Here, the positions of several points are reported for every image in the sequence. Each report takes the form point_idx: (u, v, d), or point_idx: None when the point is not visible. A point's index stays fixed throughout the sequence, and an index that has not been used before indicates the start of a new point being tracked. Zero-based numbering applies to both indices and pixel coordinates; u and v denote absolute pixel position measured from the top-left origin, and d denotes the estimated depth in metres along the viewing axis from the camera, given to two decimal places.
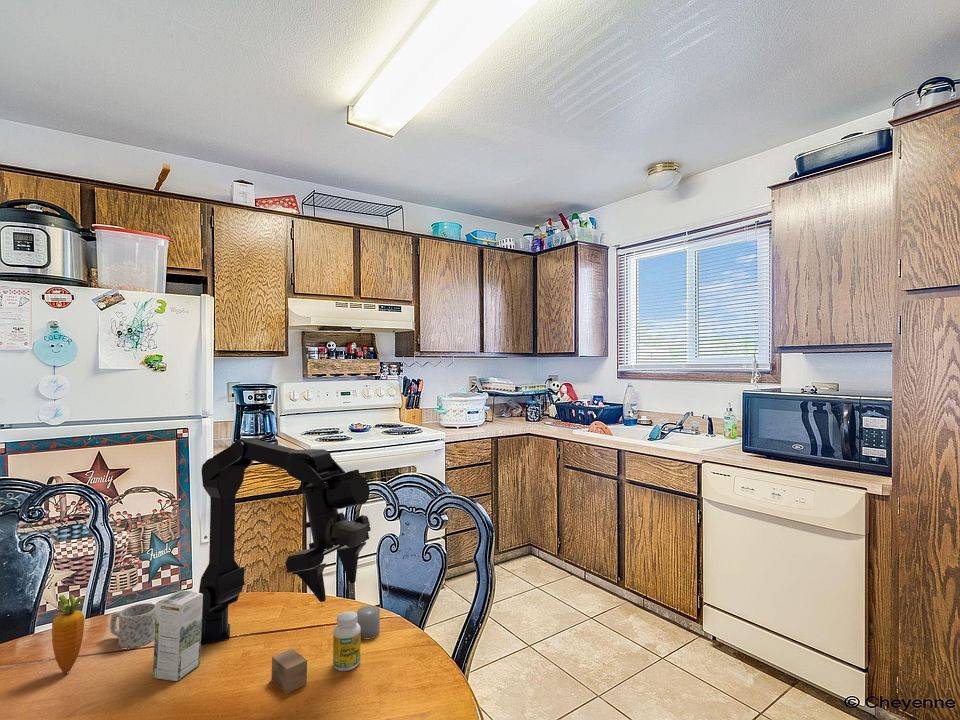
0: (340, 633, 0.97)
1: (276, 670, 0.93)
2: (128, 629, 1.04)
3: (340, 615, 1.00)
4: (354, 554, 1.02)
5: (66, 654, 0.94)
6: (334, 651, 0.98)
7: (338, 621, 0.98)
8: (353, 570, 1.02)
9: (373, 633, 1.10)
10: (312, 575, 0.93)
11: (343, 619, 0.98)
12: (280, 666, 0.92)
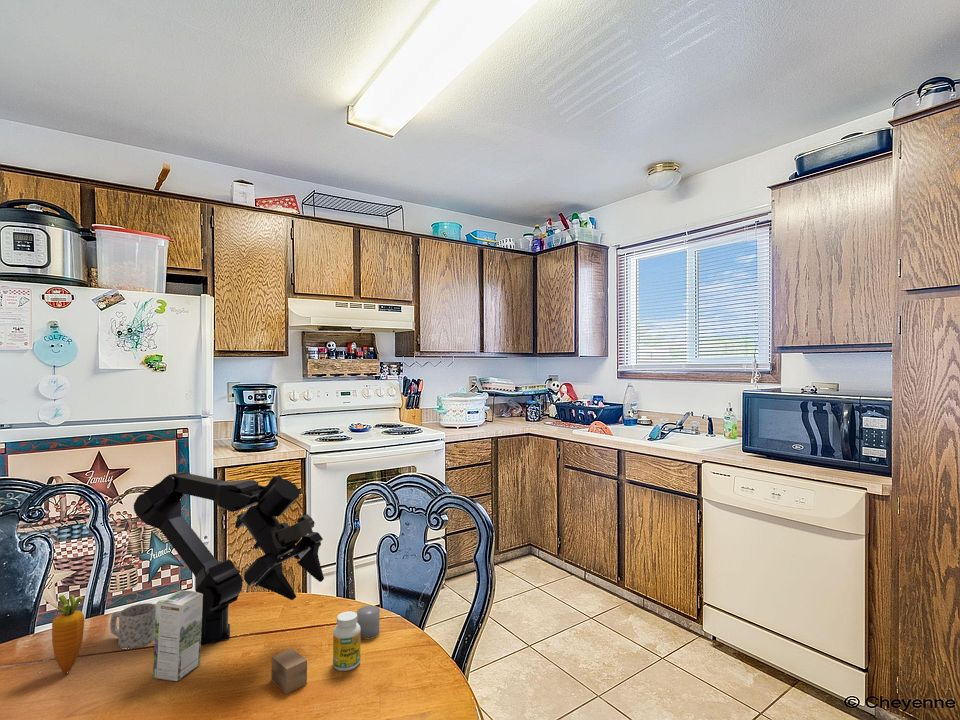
0: (340, 633, 0.97)
1: (276, 670, 0.93)
2: (128, 629, 1.04)
3: (340, 615, 1.00)
4: (312, 555, 1.09)
5: (66, 654, 0.94)
6: (334, 651, 0.98)
7: (338, 621, 0.98)
8: (317, 569, 1.08)
9: (373, 633, 1.10)
10: (274, 579, 0.99)
11: (343, 619, 0.98)
12: (280, 666, 0.92)
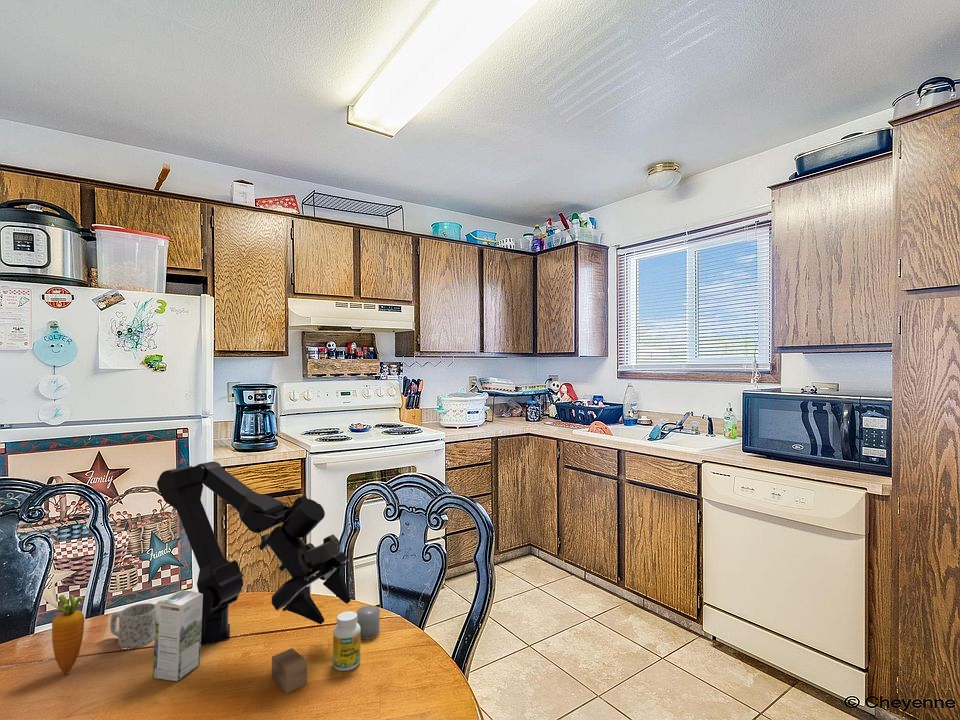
0: (340, 633, 0.97)
1: (276, 670, 0.93)
2: (128, 629, 1.04)
3: (340, 615, 1.00)
4: (338, 576, 1.06)
5: (66, 654, 0.94)
6: (334, 651, 0.98)
7: (338, 621, 0.98)
8: (344, 590, 1.05)
9: (373, 633, 1.10)
10: (302, 603, 0.96)
11: (343, 619, 0.98)
12: (280, 666, 0.92)
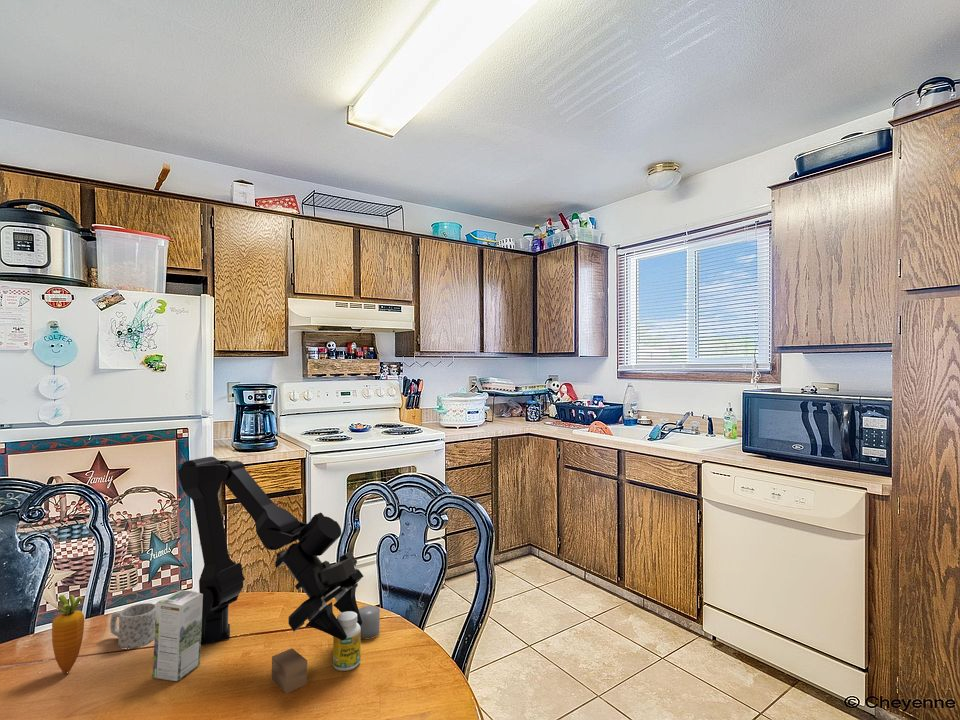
0: None
1: (276, 670, 0.93)
2: (128, 629, 1.04)
3: (340, 615, 1.00)
4: (350, 598, 1.03)
5: (66, 654, 0.94)
6: (334, 651, 0.98)
7: (338, 621, 0.98)
8: None
9: (373, 633, 1.10)
10: (325, 619, 0.97)
11: (343, 619, 0.98)
12: (280, 666, 0.92)
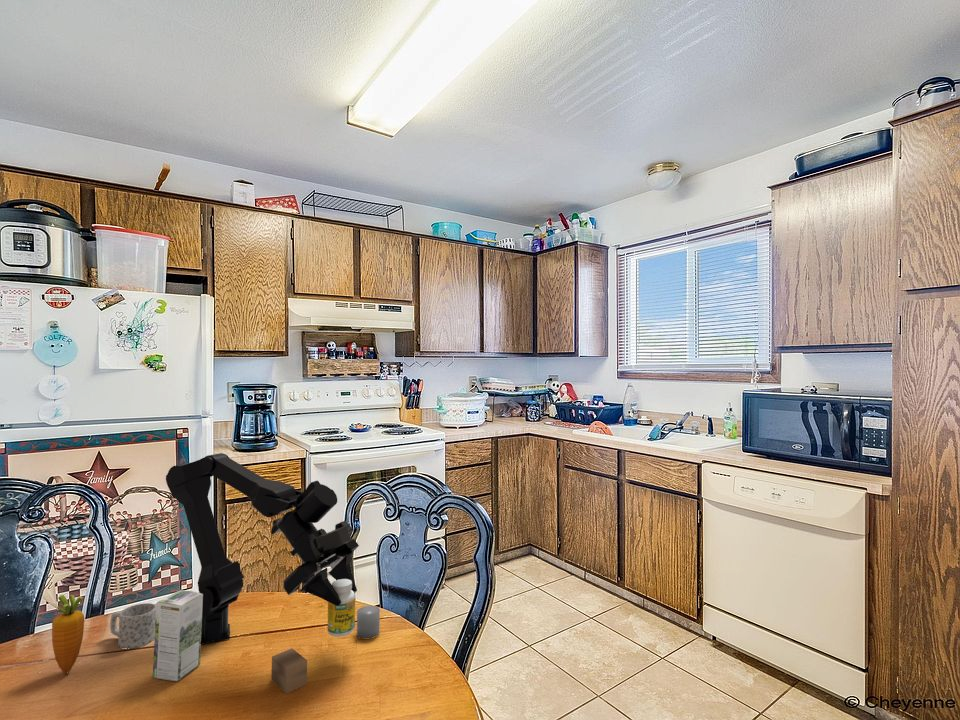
0: None
1: (276, 670, 0.93)
2: (128, 629, 1.04)
3: (335, 582, 1.01)
4: (345, 565, 1.04)
5: (66, 654, 0.94)
6: (329, 617, 0.98)
7: (333, 587, 0.99)
8: None
9: (373, 633, 1.10)
10: (319, 585, 0.97)
11: (337, 585, 0.99)
12: (280, 666, 0.92)
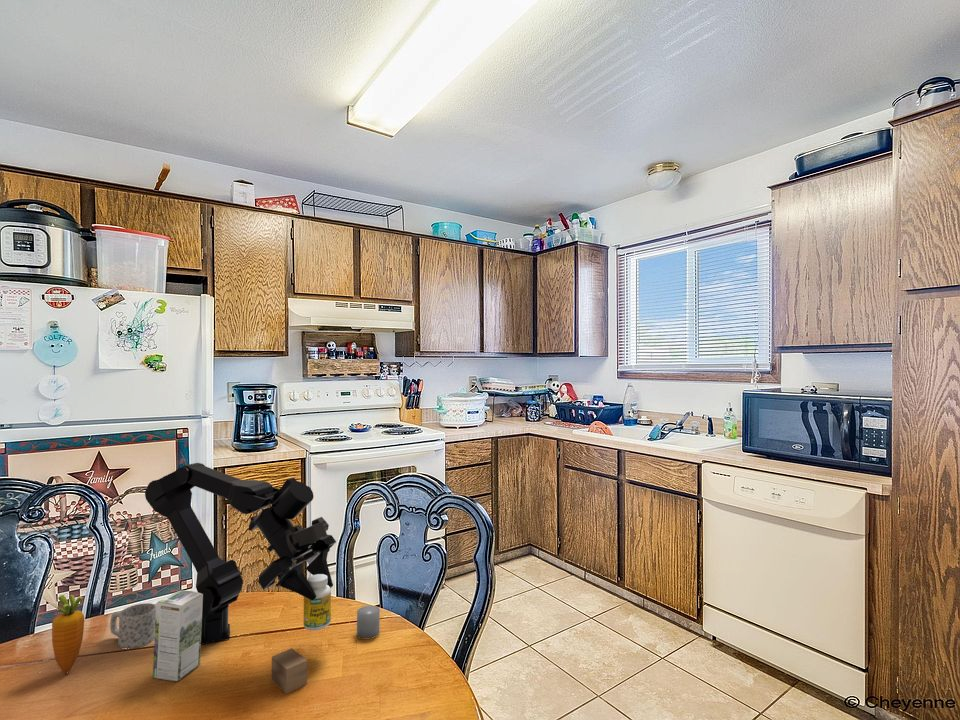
0: None
1: (276, 670, 0.93)
2: (128, 629, 1.04)
3: (311, 577, 1.02)
4: (321, 561, 1.06)
5: (66, 654, 0.94)
6: (305, 611, 1.00)
7: None
8: None
9: (373, 633, 1.10)
10: (295, 580, 0.99)
11: (313, 580, 1.01)
12: (280, 666, 0.92)
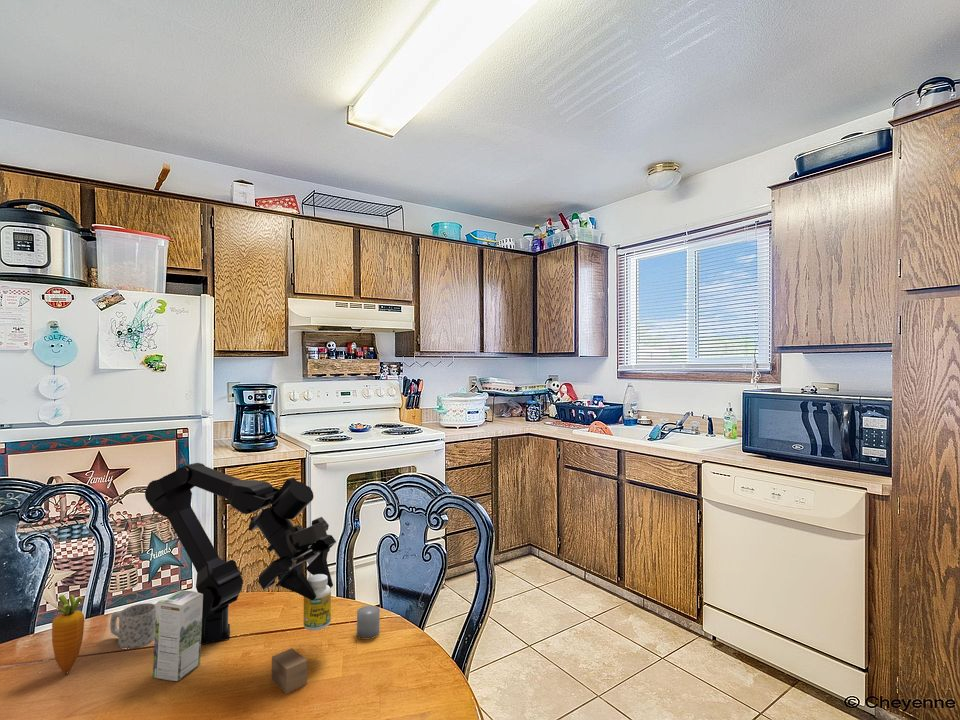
0: None
1: (276, 670, 0.93)
2: (128, 629, 1.04)
3: (311, 577, 1.02)
4: (321, 561, 1.06)
5: (66, 654, 0.94)
6: (305, 611, 1.00)
7: None
8: None
9: (373, 633, 1.10)
10: (295, 580, 0.99)
11: (313, 580, 1.01)
12: (280, 666, 0.92)
